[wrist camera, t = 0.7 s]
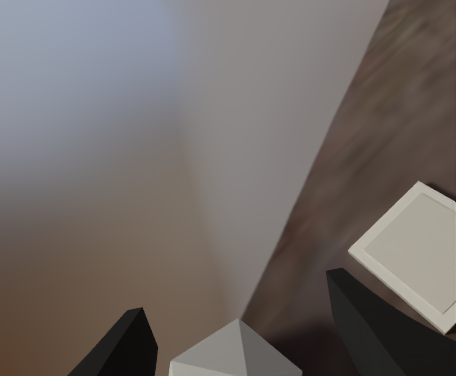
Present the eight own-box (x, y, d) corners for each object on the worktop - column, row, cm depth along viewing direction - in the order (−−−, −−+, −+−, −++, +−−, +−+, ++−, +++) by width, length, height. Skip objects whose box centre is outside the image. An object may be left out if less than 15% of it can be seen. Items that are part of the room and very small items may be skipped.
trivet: (529, 249, 22) (533, 244, 21) (444, 335, 21) (445, 332, 21) (418, 186, 27) (418, 180, 26) (349, 253, 27) (347, 250, 26)
